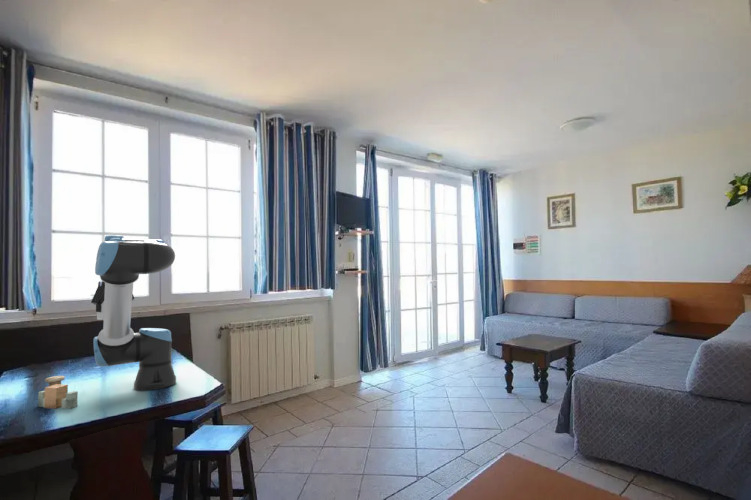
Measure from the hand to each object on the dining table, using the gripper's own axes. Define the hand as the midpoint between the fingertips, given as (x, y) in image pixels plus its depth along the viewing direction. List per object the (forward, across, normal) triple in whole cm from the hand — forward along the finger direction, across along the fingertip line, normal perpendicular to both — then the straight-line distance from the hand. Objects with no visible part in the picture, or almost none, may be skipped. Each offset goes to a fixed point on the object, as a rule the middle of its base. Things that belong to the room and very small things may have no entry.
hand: (113, 317), depth 175 cm
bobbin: (+26, +29, +3) cm, 39 cm away
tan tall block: (+26, +35, +12) cm, 45 cm away
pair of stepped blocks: (+26, +35, +12) cm, 45 cm away
